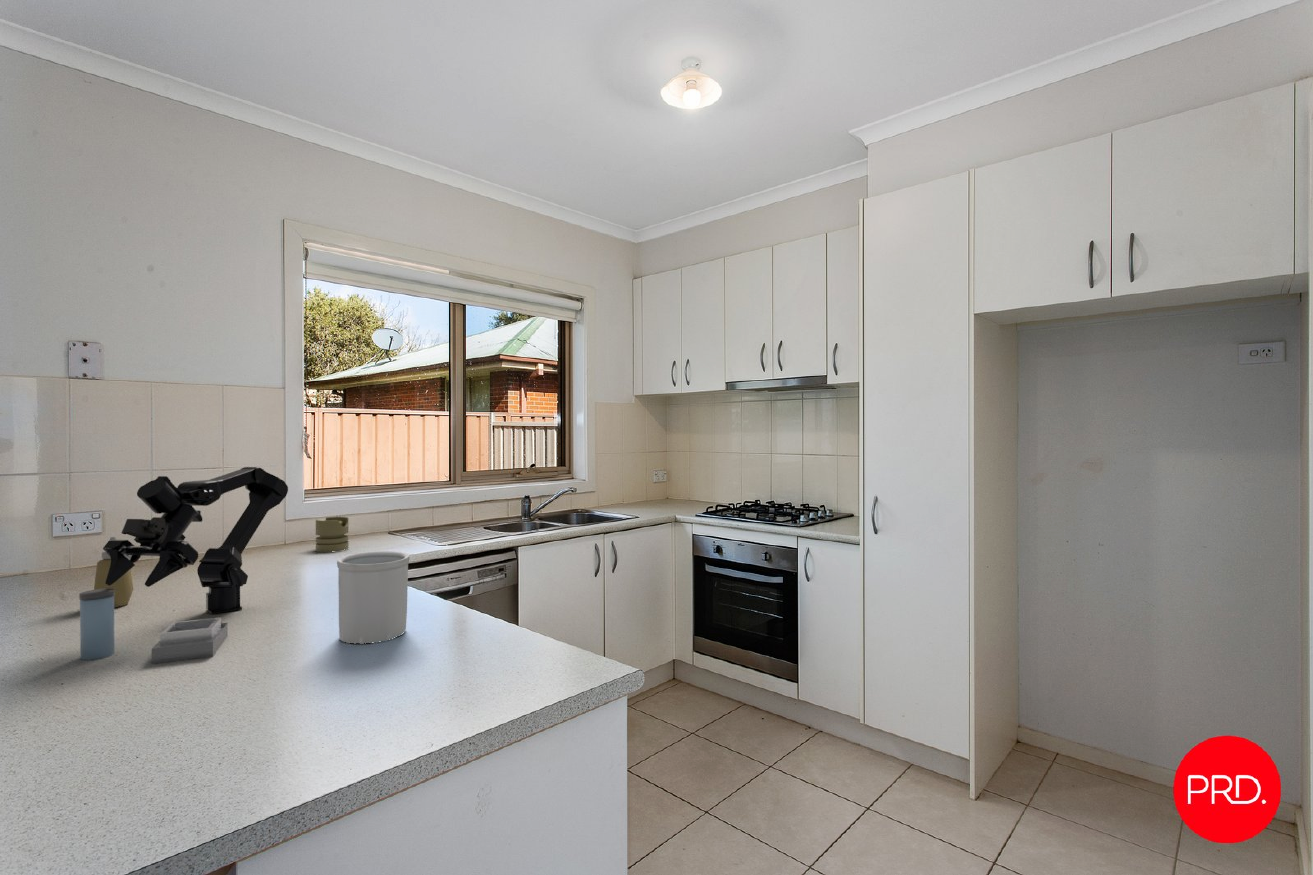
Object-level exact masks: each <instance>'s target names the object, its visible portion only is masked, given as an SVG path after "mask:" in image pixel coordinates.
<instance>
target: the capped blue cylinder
mask: <svg viewBox="0 0 1313 875" xmlns="http://www.w3.org/2000/svg"><path fill="white" fill-rule="evenodd" d="M114 595H115V589H110V588H108V589H96V590H94V589H90V590H86V591H82V592H80V593H78V598H79V616H80V617H79V620H80V621H79V623H80V624H79V628H80V629H79V635H80V637H79V640H80V642H79V643H80V644H79V645H80V646H79V647H80V649H79V650H80V655H79V656H80V658H79V660H81V659H82V661H91V659H94V660H99V659H100V660H101V659H104V658H107V656H108V657H110V656H112V655H114V654H115V607H114ZM109 655H110V656H109Z"/></svg>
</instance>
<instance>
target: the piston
mask: <svg viewBox="0 0 1313 875" xmlns="http://www.w3.org/2000/svg"><path fill="white" fill-rule="evenodd" d="M348 534H349V517H347V516H328V517H325V520H319V519H315V536H317V537H315V552H316V551H320V552H319V553H323V552H327V553H333V552H332V551H339V550H344V549H347V550H349V549H348V548H350V547H349V545H350V544H349V542H350V540H349V535H348ZM344 551H345V550H344ZM339 552H340V551H339Z"/></svg>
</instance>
